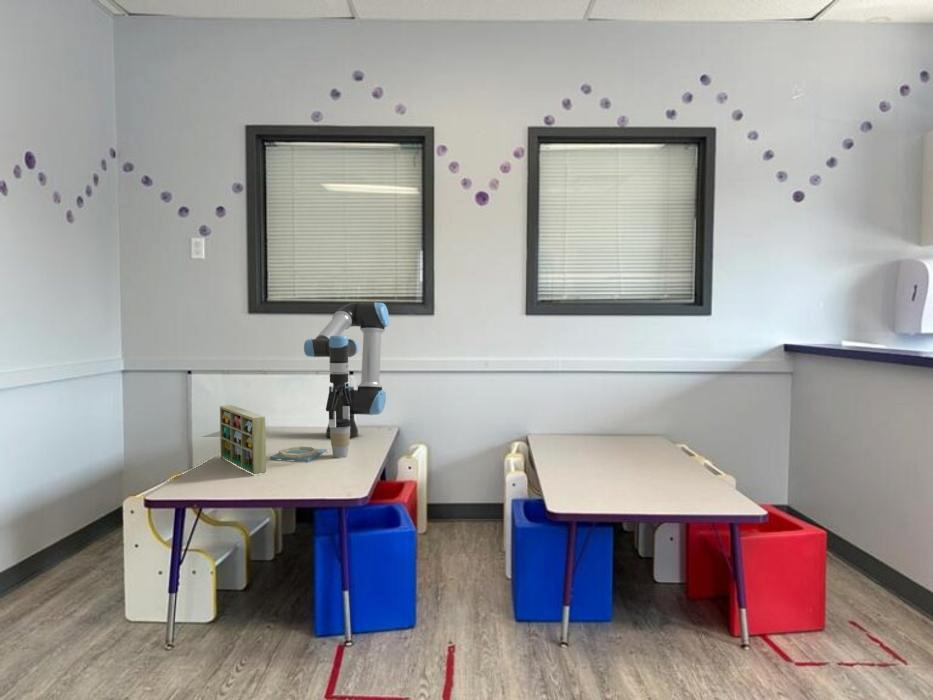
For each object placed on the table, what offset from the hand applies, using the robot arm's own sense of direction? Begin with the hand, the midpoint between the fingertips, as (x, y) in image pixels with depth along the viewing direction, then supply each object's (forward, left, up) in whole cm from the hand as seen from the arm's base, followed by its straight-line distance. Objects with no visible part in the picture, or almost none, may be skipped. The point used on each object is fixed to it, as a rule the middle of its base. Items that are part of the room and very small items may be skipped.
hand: (339, 424), depth 244 cm
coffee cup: (0, 0, -14) cm, 14 cm away
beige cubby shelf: (+22, -31, -14) cm, 40 cm away
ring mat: (+3, -17, -13) cm, 22 cm away
